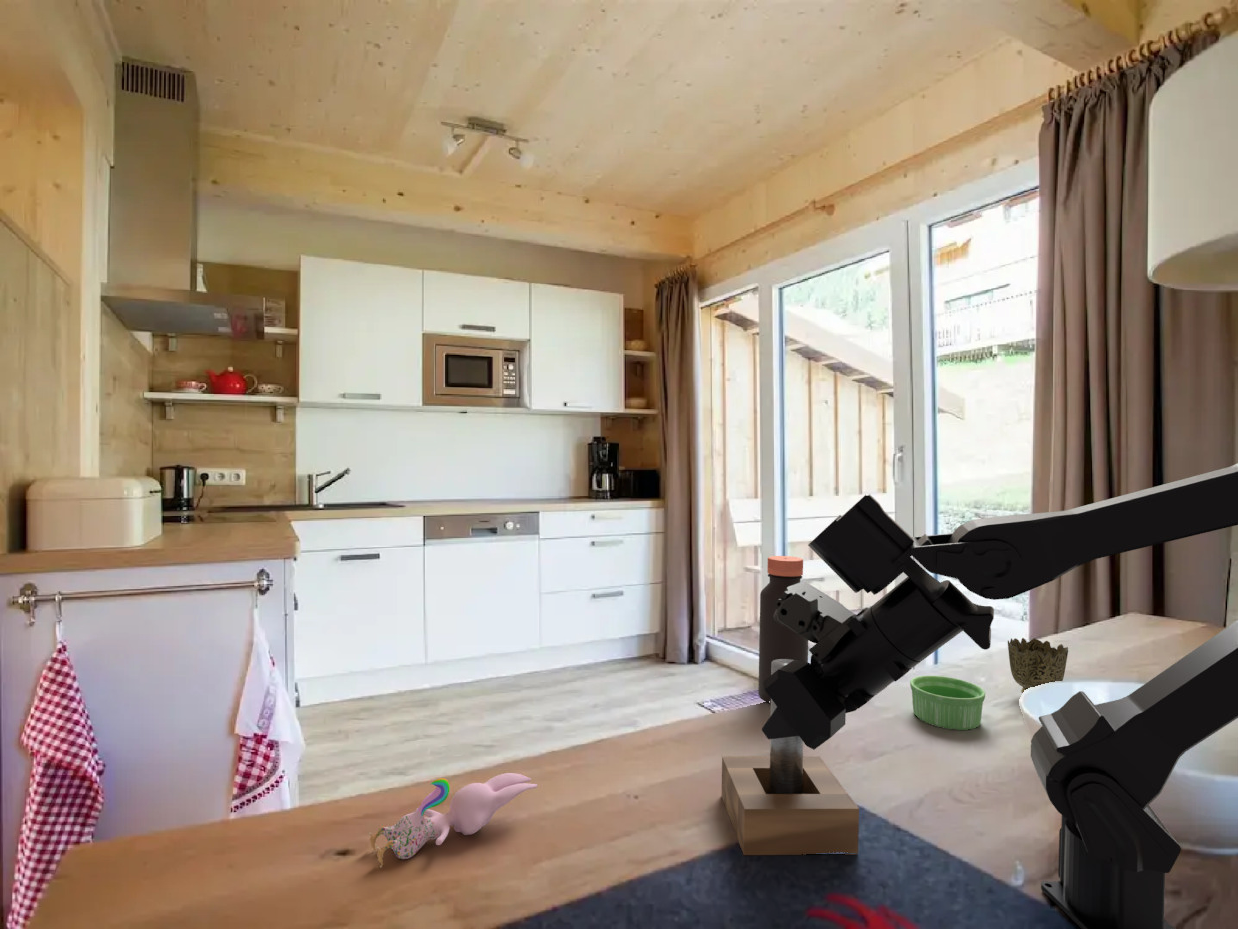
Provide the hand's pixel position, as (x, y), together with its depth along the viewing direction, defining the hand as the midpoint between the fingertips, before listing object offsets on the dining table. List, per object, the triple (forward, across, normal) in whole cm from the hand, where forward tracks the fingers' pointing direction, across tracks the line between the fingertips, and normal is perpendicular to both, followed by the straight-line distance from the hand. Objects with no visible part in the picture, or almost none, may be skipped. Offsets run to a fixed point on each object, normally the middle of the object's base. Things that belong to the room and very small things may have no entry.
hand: (773, 728), depth 63 cm
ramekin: (+1, -38, +12) cm, 40 cm away
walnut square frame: (+5, 0, +7) cm, 9 cm away
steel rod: (+4, 0, +6) cm, 7 cm away
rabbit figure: (+21, +20, -8) cm, 30 cm away
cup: (-5, -54, +18) cm, 57 cm away
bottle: (+15, -30, -2) cm, 34 cm away
